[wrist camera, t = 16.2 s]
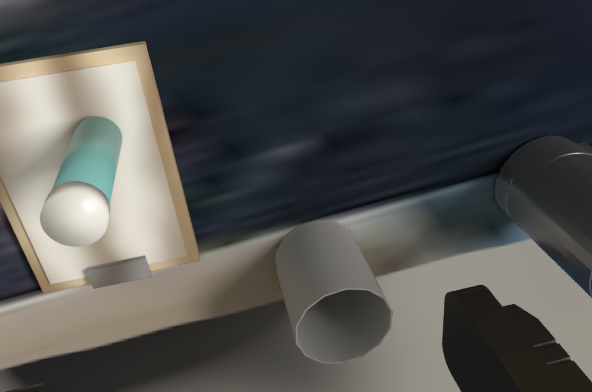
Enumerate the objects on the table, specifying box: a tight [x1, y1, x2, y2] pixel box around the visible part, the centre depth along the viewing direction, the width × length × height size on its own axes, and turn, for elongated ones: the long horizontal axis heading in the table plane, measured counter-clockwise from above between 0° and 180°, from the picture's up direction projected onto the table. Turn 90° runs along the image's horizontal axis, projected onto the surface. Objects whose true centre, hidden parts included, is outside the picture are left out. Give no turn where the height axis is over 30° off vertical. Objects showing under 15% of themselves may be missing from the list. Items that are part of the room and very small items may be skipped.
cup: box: [275, 220, 393, 363], centre depth 48 cm, size 8×8×10 cm
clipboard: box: [0, 41, 200, 293], centre depth 42 cm, size 14×20×2 cm
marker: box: [40, 116, 122, 247], centre depth 35 cm, size 4×4×12 cm
